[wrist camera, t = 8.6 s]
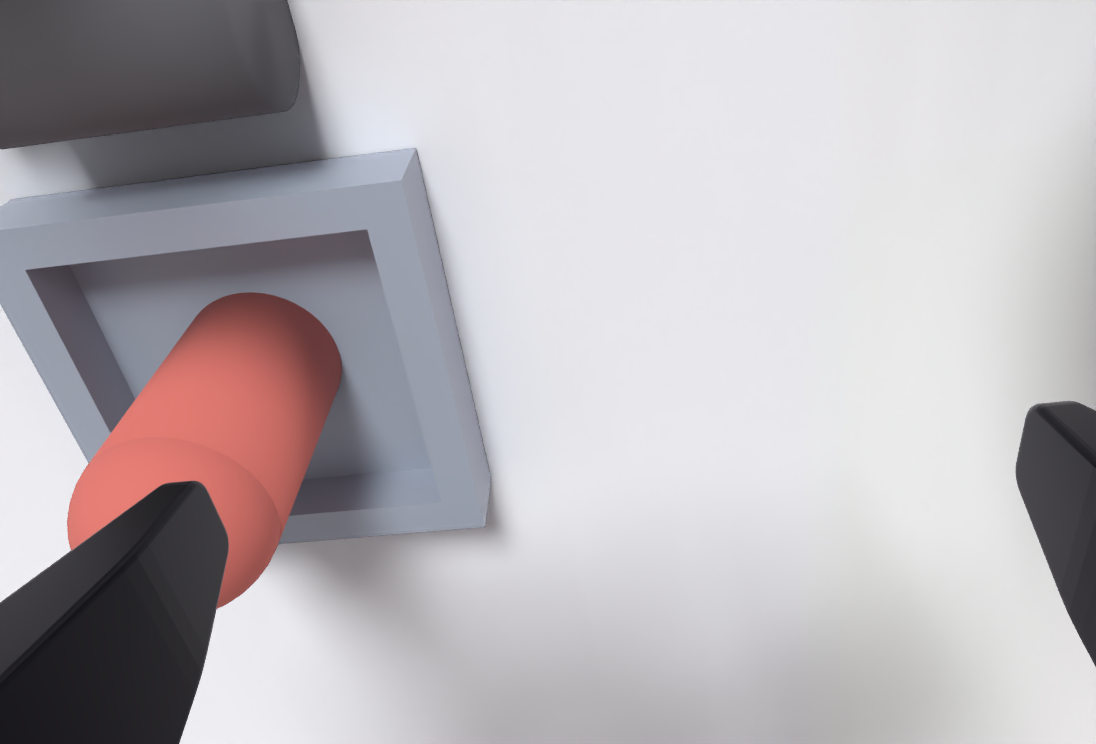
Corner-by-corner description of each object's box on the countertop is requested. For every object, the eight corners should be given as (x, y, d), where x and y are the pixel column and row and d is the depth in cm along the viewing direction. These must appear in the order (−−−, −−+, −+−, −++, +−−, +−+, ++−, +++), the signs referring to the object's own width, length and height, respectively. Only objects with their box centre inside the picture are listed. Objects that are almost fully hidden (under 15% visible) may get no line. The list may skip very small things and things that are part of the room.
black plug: (244, -116, 17) (204, -22, 14) (309, 48, 19) (282, 148, 17) (-111, -59, 17) (-199, 39, 15) (0, 91, 20) (-62, 192, 18)
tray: (415, 147, 20) (401, 180, 18) (490, 479, 25) (485, 526, 24) (10, 199, 21) (-38, 234, 19) (167, 507, 26) (139, 555, 25)
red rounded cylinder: (321, 285, 21) (191, 540, 14) (356, 417, 24) (260, 701, 16) (164, 299, 22) (-48, 557, 14) (213, 428, 24) (52, 712, 16)
